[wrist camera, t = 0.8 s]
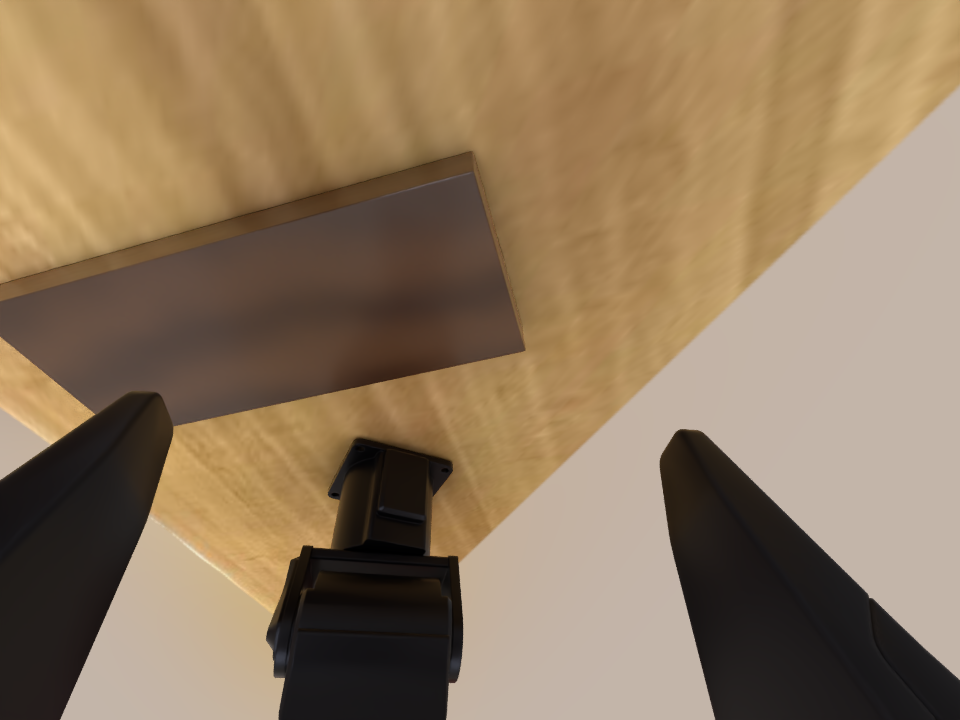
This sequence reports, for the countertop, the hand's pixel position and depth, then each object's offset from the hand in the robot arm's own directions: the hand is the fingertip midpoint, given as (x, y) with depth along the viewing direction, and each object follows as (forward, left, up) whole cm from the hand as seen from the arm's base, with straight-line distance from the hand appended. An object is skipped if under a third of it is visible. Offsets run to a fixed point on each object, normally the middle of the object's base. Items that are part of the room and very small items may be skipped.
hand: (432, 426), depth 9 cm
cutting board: (-11, +4, -14) cm, 18 cm away
